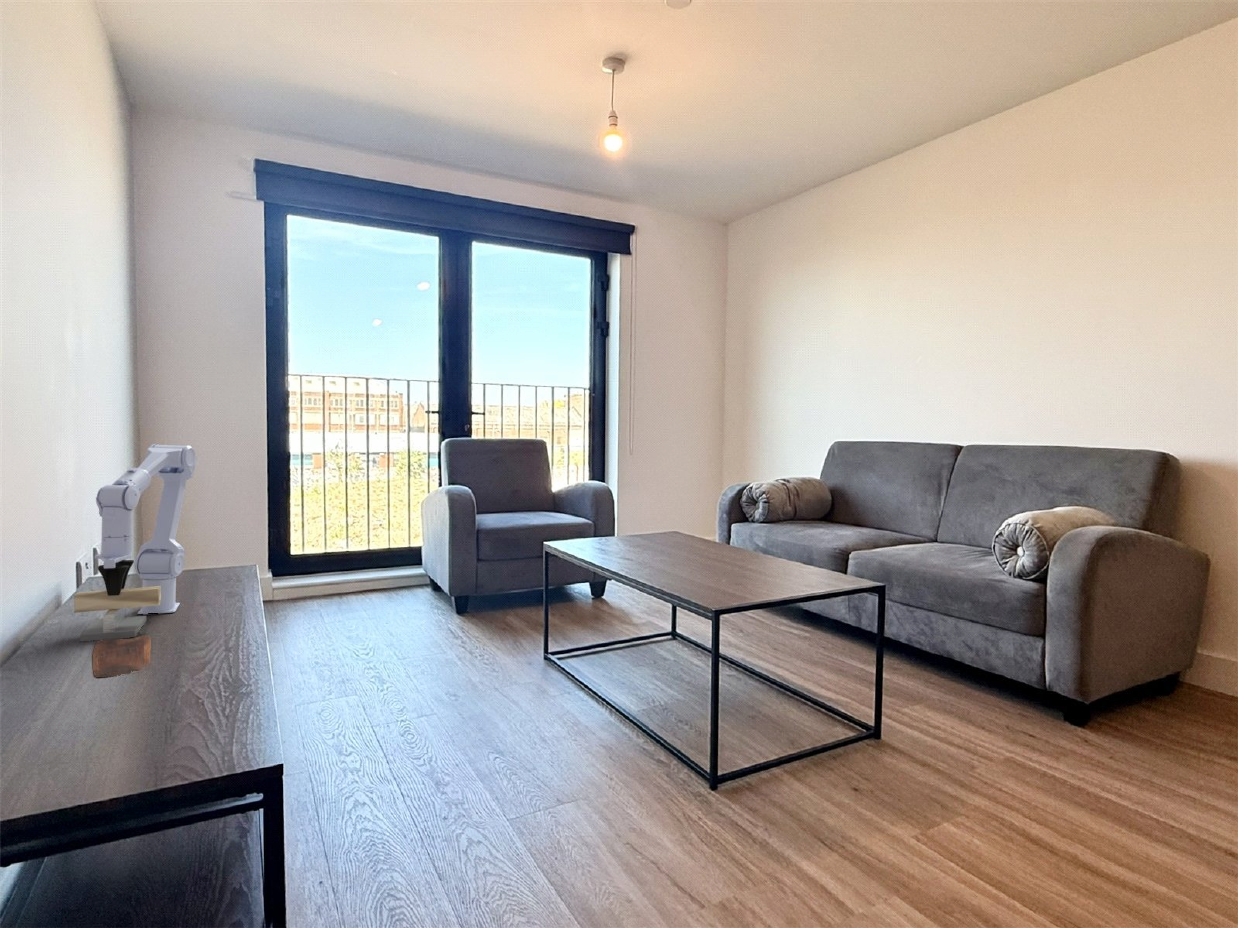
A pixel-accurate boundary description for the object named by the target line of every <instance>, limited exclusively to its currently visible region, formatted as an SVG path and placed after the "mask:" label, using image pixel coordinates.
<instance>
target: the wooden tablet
mask: <svg viewBox="0 0 1238 928" xmlns="http://www.w3.org/2000/svg"><path fill="white" fill-rule="evenodd" d="M151 640H152V639H151V637H150V636H149V635H145V634H144V635H139V636H136V637H134V638H121V639H106V640H97V642H96V644H95V646H94V648H93V652H92V668H93V669H92V670H93V675H94V676H95V677H96V678H110V677H121V676H120V675H121V674H125V675H130V673H131V671H132V672H133V671H139V670H141V668H142V667H147V664H149V661H150V662H151V651H152V650H151V648H152V646H151V644H152V643H151V642H152V641H151ZM117 675H118V676H117Z"/></svg>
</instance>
